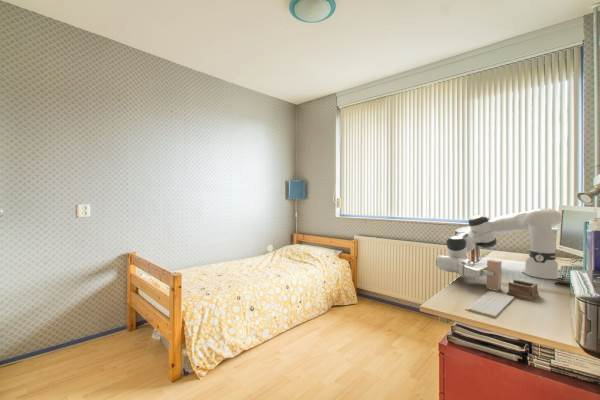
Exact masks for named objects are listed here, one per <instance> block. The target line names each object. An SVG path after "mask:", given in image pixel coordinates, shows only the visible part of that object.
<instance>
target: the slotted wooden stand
mask: <svg viewBox="0 0 600 400" xmlns="http://www.w3.org/2000/svg"><path fill="white" fill-rule="evenodd" d="M507 293H508V294H507ZM506 295H509V296H514V299H515V298H517V299H520V300H524V301H528V302H531V301H533V300H534V299H535V298H536V297H537V296H539V291H538V283H533V282H528V281H523V280H518V279H513V282H510V281H509V282H508V291H507V292H506Z"/></svg>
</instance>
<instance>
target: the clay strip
mask: <svg viewBox="0 0 600 400" xmlns="http://www.w3.org/2000/svg"><path fill="white" fill-rule="evenodd" d="M502 263H503V262H502V260H498V259H490V258H489V259H487V260H486V264H487V271H492V272H494V275H493V276H491V275H486V287H487V288H486V289H489V288H491V289H490V290H493V289H495V290H494V291H497V290H499V289H500V290H501V289H502ZM500 290H499V291H500Z"/></svg>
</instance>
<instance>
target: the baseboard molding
mask: <svg viewBox="0 0 600 400" xmlns="http://www.w3.org/2000/svg"><path fill="white" fill-rule="evenodd" d="M488 290H489V291H490V290H491V289H489V288H487V289H486V290H484V292H485V293H484V294H483V295H482V296H480V297H478V298H477V300H475V301H474V302H473V303H471V304H470V305H469V306H467V307H466V308H465V311H468V312H471V313H475V314H479V315H483V316H487V317H489V318H490V317H491V318H493V319H495V318H496V317H498V316H499V314H500V313H502V312H503V310H504V309H505V308H506V307H507V306H508V305H509V304H510V303H511V302H512V301H513V300H514V299H515V297H514V296H509V295H507V294H508V293H507V292H506V293H504V292H503V290H496V292H495V291H493V290H492V291H490V292H489V291H488ZM502 293H504V294H502Z"/></svg>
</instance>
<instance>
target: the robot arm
mask: <svg viewBox="0 0 600 400" xmlns="http://www.w3.org/2000/svg"><path fill="white" fill-rule="evenodd" d="M562 220H563V216H562V214H561V213H560V212H559V211H558V210H555V209H553V208H535V209H532V210H529V211H522V212H517V213H509V214H505V215H500V216H497V217H492V218H490V217H488V216H487V217H486V216H485V215H482V214H479V215H474V216H472V217H471V218H470V219H468V225H469V228H470V229H471V230H464V231H465V232H463V231H459V232H457V233H455V234H454V235H452V236H450V237H448V238H447V239H446V247H447V248H446V249H447V255H443V254H439V255H437V256H436V259H435V266H436V268H437V269H439V270H442V271H445V272H448V273H456V274H458V276H460V277H470V278H471V277H472V278H479V277H482V276H487V275H491V276H493V275H494V272H492V271H487V262H486V263H484V262H473V260H472V259H470V258H468V253H469V252H471V251H473V249H474V248H475V247H480V248H482V249H491V248H492V247H494V246H496V245H497V242H498V241H497V238H496V237H495V234H497V233H498V234H508V233H515V232H524V231H529V236H530V244H529V245H530V247H529V248H530V249H529V252H528V256H529V257H528V258H526V259H525V267H524V268H525V269H523V270H521V273H523V274H526V275H528V276H531V277H534V278H539V279H545V280H559V279H558V278H559V272H561V270H560V269H559V263H558V262H557V253H556V238H555V237H554V232H553V230H552V229H553V228H554V227H556V226H558V225H559V224H560V223H561V222H562Z"/></svg>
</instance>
